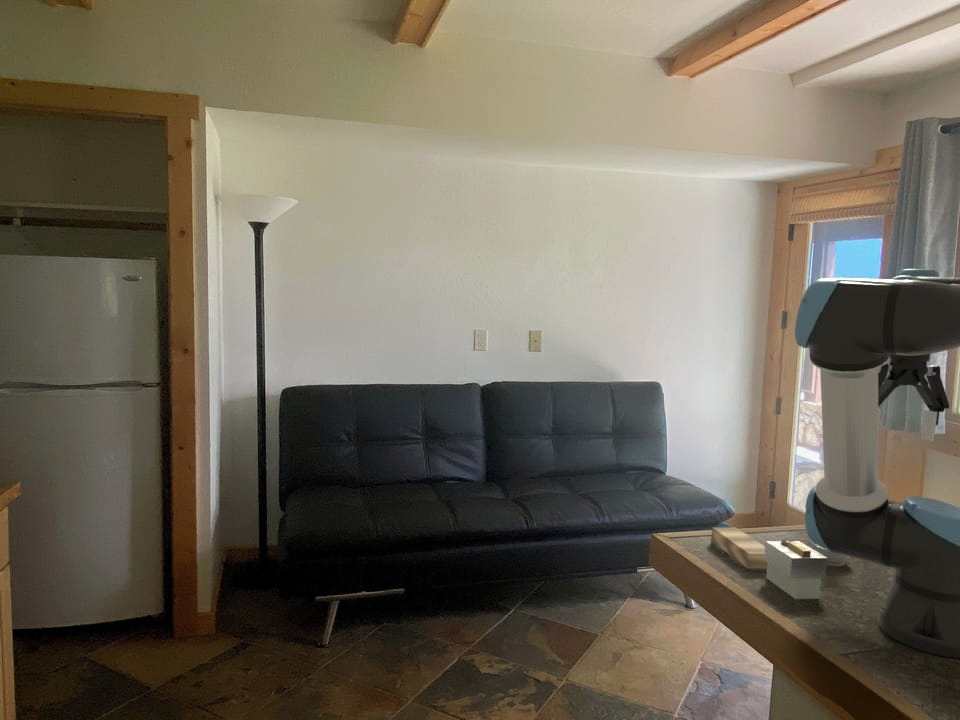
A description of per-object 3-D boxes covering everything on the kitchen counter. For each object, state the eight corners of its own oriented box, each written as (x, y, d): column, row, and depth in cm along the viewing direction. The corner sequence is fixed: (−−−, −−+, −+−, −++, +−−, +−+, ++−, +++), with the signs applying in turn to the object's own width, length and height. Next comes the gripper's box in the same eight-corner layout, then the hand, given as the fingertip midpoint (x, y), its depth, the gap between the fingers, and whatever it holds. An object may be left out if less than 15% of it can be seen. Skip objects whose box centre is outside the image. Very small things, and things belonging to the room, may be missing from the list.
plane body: (773, 571, 146) (775, 553, 146) (747, 571, 145) (749, 553, 145) (734, 544, 162) (736, 527, 161) (710, 544, 161) (712, 527, 160)
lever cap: (825, 577, 134) (828, 552, 133) (789, 578, 133) (792, 553, 132) (797, 559, 143) (799, 536, 142) (763, 560, 141) (766, 536, 141)
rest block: (818, 598, 134) (821, 578, 133) (795, 599, 133) (797, 579, 132) (788, 577, 143) (790, 558, 143) (766, 577, 143) (768, 559, 142)
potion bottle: (858, 569, 150) (867, 488, 149) (817, 566, 150) (825, 486, 149) (838, 554, 159) (846, 478, 157) (799, 551, 159) (807, 475, 157)
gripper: (947, 343, 153) (936, 437, 155) (846, 338, 149) (836, 434, 151) (976, 346, 146) (964, 444, 148) (871, 340, 142) (859, 441, 144)
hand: (899, 439), depth 150 cm, fingers open, 13 cm apart
